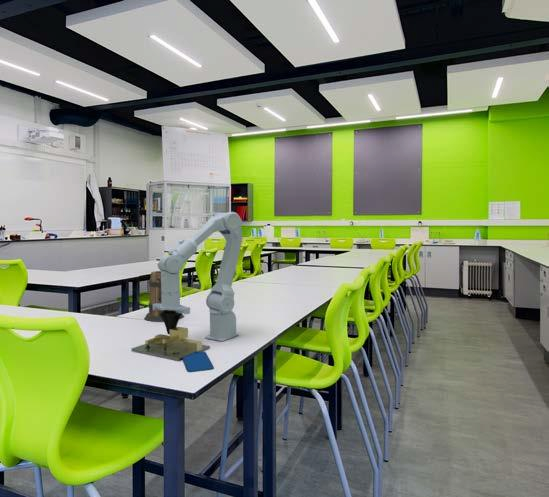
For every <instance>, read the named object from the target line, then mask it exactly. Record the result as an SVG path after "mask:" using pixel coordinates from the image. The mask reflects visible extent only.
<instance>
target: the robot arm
mask: <svg viewBox="0 0 549 497" xmlns="http://www.w3.org/2000/svg"><path fill="white" fill-rule="evenodd" d="M242 224H243V220H242V219H241V217H240V215H239V213H237V212H234V211H229V212H216V213H215V214H214V215H213V216H212V217H211V216H210V217H209V219H208V220H207V221H206V222H205V224H203V225H202V227H200V229H198V230H197V232H196V233H195V234H194V235H192V236H191V238H184V239H180V240H178V244H177V245H176V246H175V247H174V248H173V249H169V250H168V254H164V255H162V256H161V257H160V258H159V261H158V263H157V268H158V270H159V271H161V295H162V304H160V303H156V304H153V310H162V311H163V313H160V316H161V318H162V319H163V321H164V322H163V323H164V326H165V330H166V332H167V335H168V336H170V329H172V328H176V327H178V324H179V318H180V317H181V315H182V314H183V315H189V314H191V307H188V306H186V305H182V304H181V295H180V294H181V293H180V292H181V289H180V283H181V282H180V280H181V279H180V272H181V271H182V269H183V266H184V264H185V263H186V262H187V261H188V260H189V259H190V258H192V257H193V255H194V254H197V252H198V246H199V245H201V244H202V243H203V242H204V241H205V240H207V238H209V237H210V236H211V235H213V234H214V233H217V232H218V233H220V234H221V235H222V236H223V238H224V239H225V246H224V249H223V254H222V256H221V257H222V258H221V262H220V267H219V269H218V270H219V271H218V274H217V278H216V283H215V284H214V285H213V286H212V287H211V288H210V292H209V294H208V295H207V297H206V299H205V304H206V306H207V308H208V309H209V335H207V336H205V337H204V339H207V340H213V341H218V342H224V341H226V340H230V339H232V338H235V337H237V336H239V333H237V316H236V314H235V312H234V311H233V309H234V306H235V298H234V297H235V292H234V289H233V287H232V285H233V281H234V277H235V274H236V268H237V264H238V259H239V255H240V250H241V247H242V244H243V230H242Z"/></svg>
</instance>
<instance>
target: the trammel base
mask: <svg viewBox="0 0 549 497" xmlns="http://www.w3.org/2000/svg"><path fill="white" fill-rule="evenodd" d="M169 337H170V335H169V334H161V333H160V334H156V335H154V337H153V338H150V339H147V340H145V341H144V342H145V343H144V344H141V345H138V346H135V347H132V348H131V349H130V350H131V352H133V353H134V352H135V353H140V354H144V355H148V356H154V357H158V358H162V359H168V360H170V361H171V360H172V361H176V362H180V361H183V360H182V359H183V358H184V357H186V356H188V355H191V354H193V353H195V352H201V351H204V352H206V351H208V350H210V349H211V345H205V344H203V342H202V341H200V340H194V339H189V338H185V339H182V340H174V341H171V342H168V343H166V346H167V350H166V351H164V343H162V340H163V339H166V338H169Z"/></svg>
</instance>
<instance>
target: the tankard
mask: <svg viewBox="0 0 549 497" xmlns="http://www.w3.org/2000/svg"><path fill="white" fill-rule="evenodd" d="M149 277H150V278H149V281H148V286H149V296H148V297H149V301H148V313H147V314H146V315H145V317H144V318H143V321H145V320H146V322H149V321H150V322H149V323H164V321H163V319H162V318H161V316H160V313H163V311H162V310H153V304H156V303H160V304H162V295H161V271H160V270H157V271H151V273H150V276H149ZM184 315H185V314H183V313H182V315H181V317H180V318H179V320H182V319H184V318H185V316H184Z"/></svg>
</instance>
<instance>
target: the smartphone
mask: <svg viewBox="0 0 549 497" xmlns="http://www.w3.org/2000/svg"><path fill="white" fill-rule="evenodd" d="M181 361H182V362H183V365H184V368H185V370H186V371H187V373H195V372H197V373H198V372H204V371H205V372H206V371H211V370H214V369H215V367H214V365H213V362H212V361H211V359H210V357H209V356H208V354H207V352H206V351H201V352H195V353H193V354H191V355H188V356H186V357H184V358H183V359H182V360H181Z"/></svg>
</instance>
